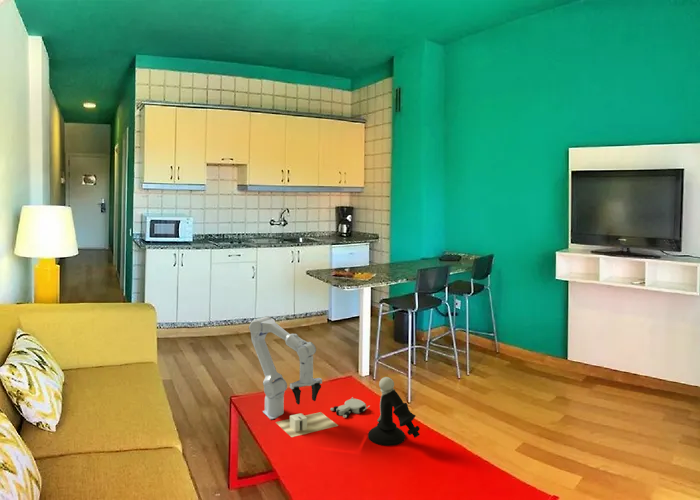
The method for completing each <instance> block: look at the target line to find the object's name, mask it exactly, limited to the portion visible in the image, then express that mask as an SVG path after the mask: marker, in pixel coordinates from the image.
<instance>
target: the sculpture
mask: <svg viewBox="0 0 700 500" xmlns="http://www.w3.org/2000/svg"><path fill="white" fill-rule="evenodd" d="M378 383H379V384H378V386H379V388H380V390H379V391H380V392H381V395H380V401H379V413H380V415H379V417H378V418H377V420H376V421H377V424H376V425H375V426H374V427H372V428H371V429H370V430H369V431H368V433H367V438H368V440H369V441H370V442H371V443H373V444H375V445H379V446H387V447H389V446H390V447H391V446H397V445H400V444H402V443H404V442H405V440H406V434H405V431H403V430H402V429H401V428H400V427H405V426H406V428H408V430H407V431H406V432H407V435H408V436H411V435H412V436H413V437H414V439H416V438H417V437H419V436H420V433H419V431H420V426H419V425H416V426H415V425H414V424H413V422H412V421H413V420H414V419H415V418H416V414H413V413H412V412H411V410H410V409H409V405H408V403H407V402H404V401H403V400H402V398H401V396H400V395H399V394H398V392H397V391H396V389H395V387H394V386H395V382H394V380H393V379H392V378H391V377H388V376H384V377H382V378H381V379H380V380H379V382H378ZM393 414H394V415H395V416H396V418H397V419H398V422H399V427H398V426H397V424H396V423H395V422H394V418H393Z"/></svg>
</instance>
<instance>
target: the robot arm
mask: <svg viewBox="0 0 700 500" xmlns="http://www.w3.org/2000/svg"><path fill="white" fill-rule="evenodd" d="M248 329H249V332H250V338H251V343H252V345H253V348H254V351H255V354H256V355H257V359H258V361H259V364H260V366H261V370H262V371H263V375H264V379H263V382H262V385H263V391H264V392H263V393H264V394H265V396H264V410H262V413H263V414H264V415H266V417H267V418H268V419H269V420H274V419H277V418H279V417H280V416H282V415H283V414H284V412H285V411H284V408H285V407H284V406H285V405H284V404H285V402H284V401H285V392H286V391H287V389H288V383H287V381H286V379H284V377H283V375H282V374H281V373H279V372H278V371H277V369H276V366H275V364H274V361H273V358H272V355H271V353H270V351H269V350H270V349H269V347H268V345H267V342H266V340H265V339H266V337H267V334H268V333H272V334H273V335H275V336H277V337H278V338H280V339H282V340H283V341H285V345H286V346H287V347H289V348H290V349H292V350H293V351H295V352H296V354H297V356H298V358H299V359H298V360H299V380H297V381H294V382H290V383H289V389H291V391H292V393H293V395H294V398H295V403H296V404H297V405H300V404H301V393H302V390H301V389H300V388H301V387H310V386H311V387H310V388H311V400H312V401H313V402H316V401H317V396H318V394H319V393H320V390H321V389H322V385H321V384H323V379H322V378H321V377H317V378H314V355H315V354H316V352H317V348H316V345H315V344H314V343H313V342H311V341H307V340H305V339H302V338H301V337H299V335H298V334H297V333H289V332H288V331H286V330H285V329H284V328H283V327H281V326H280V325H279V324H278V323H277V322H276V320H275V319H274V318H272V317H271V316H269V315H266V316H263V317H260V318H256V319H253V320H251V322H250V324H249V326H248Z"/></svg>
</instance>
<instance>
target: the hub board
mask: <svg viewBox="0 0 700 500" xmlns="http://www.w3.org/2000/svg"><path fill="white" fill-rule="evenodd" d="M304 416H306V417H307V430H302V429H301V421H300V431H298V432H294V431H293V430H292V429H291V428H290V418H289V419H283V420H280V421H278V420H277V421H275V424H276V425H278V426H279V427H280V428H281V430H282V431H284V432H285V433H286V434H287V435H288V436H290V438H294V437H298V436H302V435H303V436H304V435H307V434H310V433H314V432H318V431H323V430H326V429H331V428H334V427H338V426H339V424H337V423H336V422H335V421H333V420H332V419H330V418H329V417H328V416H326V415H325V414H324V413H323V412H322V411H320V412H316V413H315V412H314V413H309V414H305V415H304Z"/></svg>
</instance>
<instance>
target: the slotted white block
mask: <svg viewBox="0 0 700 500" xmlns="http://www.w3.org/2000/svg"><path fill="white" fill-rule="evenodd" d="M289 419H290V428H291V429H292V430H293V431H294V432H298V431H300V421H301V429H302V430H307V417H306V416H305V415H304V413H296V414H291V415H289Z"/></svg>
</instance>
